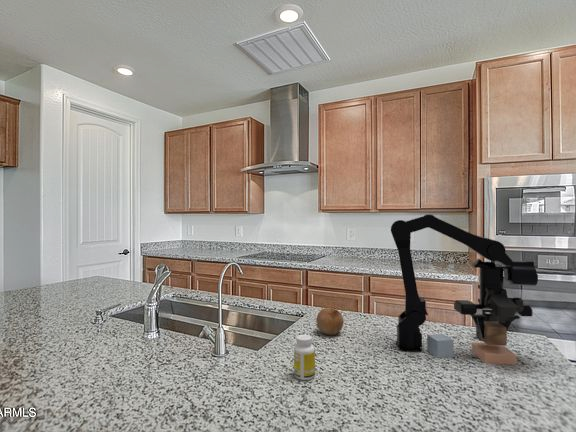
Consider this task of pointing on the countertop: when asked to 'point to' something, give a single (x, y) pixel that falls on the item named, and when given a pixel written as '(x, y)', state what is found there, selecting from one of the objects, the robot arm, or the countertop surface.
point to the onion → (329, 321)
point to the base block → (493, 353)
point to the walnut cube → (494, 333)
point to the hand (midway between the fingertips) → (492, 337)
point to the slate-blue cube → (440, 345)
